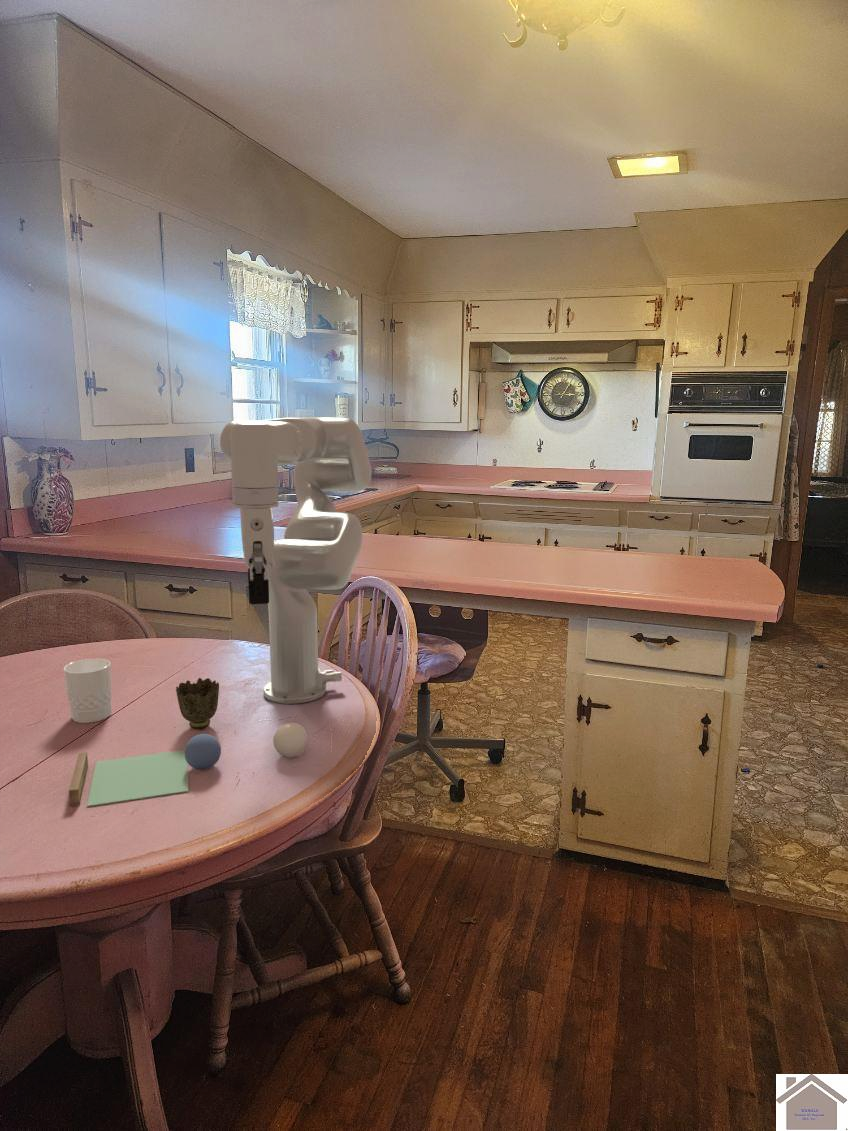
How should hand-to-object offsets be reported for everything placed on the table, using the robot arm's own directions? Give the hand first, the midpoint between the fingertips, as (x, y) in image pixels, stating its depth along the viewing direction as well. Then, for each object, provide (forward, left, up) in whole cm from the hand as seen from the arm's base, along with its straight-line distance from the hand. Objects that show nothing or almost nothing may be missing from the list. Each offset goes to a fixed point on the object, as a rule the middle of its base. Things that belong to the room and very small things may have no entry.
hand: (258, 596), depth 125 cm
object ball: (+11, +11, -22) cm, 27 cm away
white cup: (+30, -16, -25) cm, 42 cm away
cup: (+11, -5, -25) cm, 28 cm away
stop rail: (+29, +11, -25) cm, 40 cm away
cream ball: (-3, +11, -22) cm, 25 cm away
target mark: (+20, +11, -25) cm, 34 cm away
